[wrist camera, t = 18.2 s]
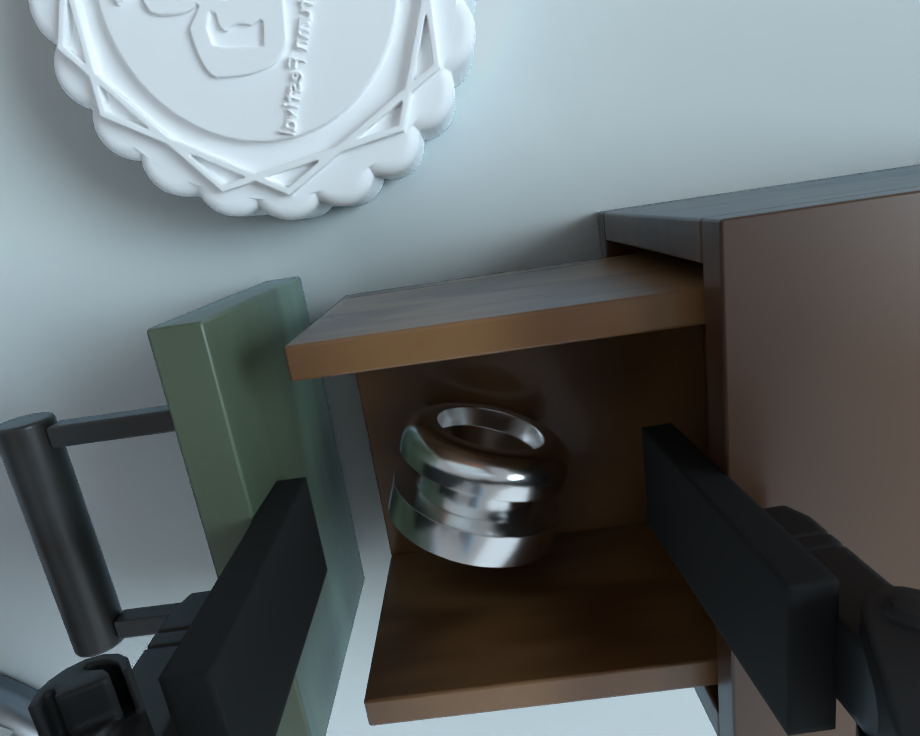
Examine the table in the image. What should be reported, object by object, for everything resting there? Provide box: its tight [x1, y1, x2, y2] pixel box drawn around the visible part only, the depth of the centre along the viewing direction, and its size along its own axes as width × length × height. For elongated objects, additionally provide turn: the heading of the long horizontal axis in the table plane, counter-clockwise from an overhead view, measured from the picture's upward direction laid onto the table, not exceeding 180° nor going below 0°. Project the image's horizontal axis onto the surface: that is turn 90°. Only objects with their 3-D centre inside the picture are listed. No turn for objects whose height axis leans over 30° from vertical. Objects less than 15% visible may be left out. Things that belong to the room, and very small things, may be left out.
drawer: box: [0, 251, 718, 736], centre depth 17 cm, size 21×12×8 cm, turn 98°
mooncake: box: [29, 0, 477, 220], centre depth 17 cm, size 12×12×4 cm
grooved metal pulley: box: [388, 402, 571, 568], centre depth 18 cm, size 5×3×5 cm, turn 79°
